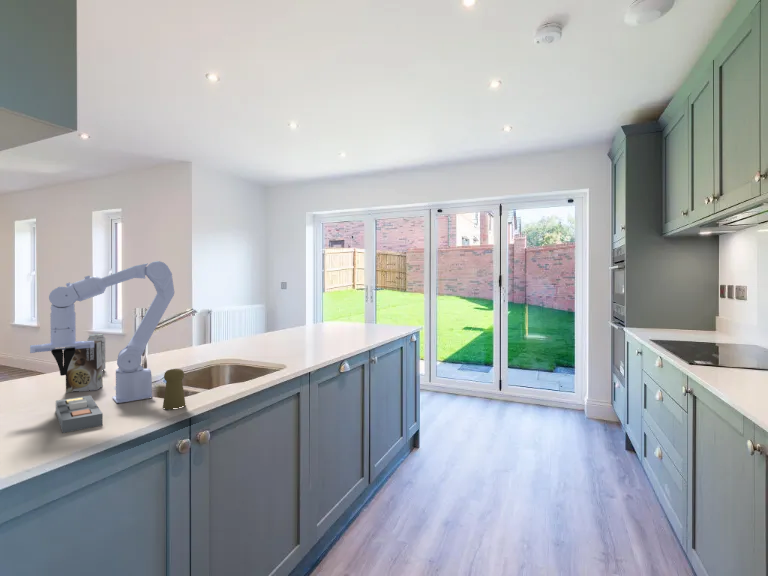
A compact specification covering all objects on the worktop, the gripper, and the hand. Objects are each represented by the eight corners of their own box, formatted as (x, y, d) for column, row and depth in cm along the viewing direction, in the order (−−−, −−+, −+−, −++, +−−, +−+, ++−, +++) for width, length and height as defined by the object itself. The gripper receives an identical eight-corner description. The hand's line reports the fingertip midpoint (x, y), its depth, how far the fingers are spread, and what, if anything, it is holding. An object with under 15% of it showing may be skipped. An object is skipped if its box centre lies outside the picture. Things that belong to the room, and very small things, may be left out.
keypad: (90, 405, 119) (90, 395, 119) (102, 425, 103) (102, 413, 103) (55, 411, 113) (55, 400, 113) (62, 432, 97) (62, 420, 97)
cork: (180, 402, 122) (180, 366, 122) (189, 406, 119) (189, 369, 118) (158, 407, 118) (158, 369, 118) (167, 411, 114) (167, 372, 114)
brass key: (82, 407, 116) (82, 397, 116) (83, 410, 113) (83, 400, 113) (66, 410, 113) (66, 399, 113) (67, 413, 111) (67, 402, 111)
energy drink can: (106, 369, 168) (106, 333, 168) (104, 372, 163) (104, 335, 162) (88, 370, 165) (88, 334, 165) (86, 373, 160) (86, 336, 159)
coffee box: (103, 385, 141) (103, 340, 141) (97, 390, 135) (97, 342, 135) (72, 388, 138) (71, 341, 138) (64, 392, 132) (64, 343, 132)
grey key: (85, 409, 111) (85, 398, 111) (87, 412, 108) (87, 401, 108) (68, 412, 108) (68, 401, 108) (70, 415, 106) (70, 404, 105)
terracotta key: (88, 420, 105) (88, 408, 105) (90, 423, 103) (90, 412, 103) (71, 423, 103) (71, 411, 103) (73, 427, 100) (72, 415, 100)
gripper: (30, 331, 109) (30, 381, 109) (95, 327, 119) (95, 373, 119) (29, 329, 114) (30, 376, 115) (92, 325, 124) (92, 369, 124)
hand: (63, 374), depth 117 cm, fingers closed
